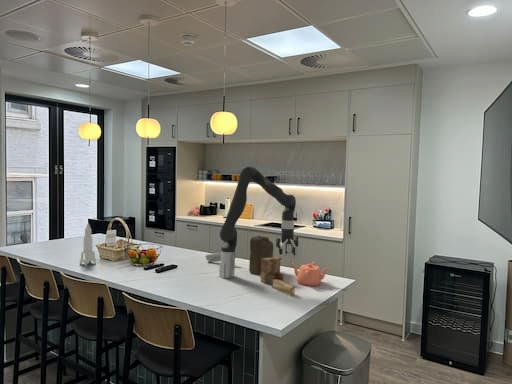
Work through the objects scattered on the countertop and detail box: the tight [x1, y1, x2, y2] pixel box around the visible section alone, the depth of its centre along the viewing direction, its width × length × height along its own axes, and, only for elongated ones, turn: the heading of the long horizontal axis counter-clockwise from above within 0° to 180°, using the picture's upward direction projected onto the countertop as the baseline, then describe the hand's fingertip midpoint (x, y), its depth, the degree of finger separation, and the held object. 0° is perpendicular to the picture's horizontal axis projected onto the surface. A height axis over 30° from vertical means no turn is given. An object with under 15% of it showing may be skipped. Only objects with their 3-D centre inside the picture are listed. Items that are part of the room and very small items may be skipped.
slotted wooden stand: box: [260, 256, 285, 286], centre depth 237 cm, size 13×10×15 cm
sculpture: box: [79, 222, 97, 267], centre depth 266 cm, size 7×8×30 cm
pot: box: [291, 261, 330, 287], centre depth 239 cm, size 18×17×12 cm
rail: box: [271, 279, 296, 297], centre depth 221 cm, size 4×17×5 cm, turn 34°
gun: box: [205, 252, 237, 263], centre depth 280 cm, size 2×25×10 cm, turn 66°
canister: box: [248, 235, 274, 275], centre depth 262 cm, size 19×8×25 cm, turn 142°
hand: (287, 254), depth 228 cm, fingers open, 8 cm apart
